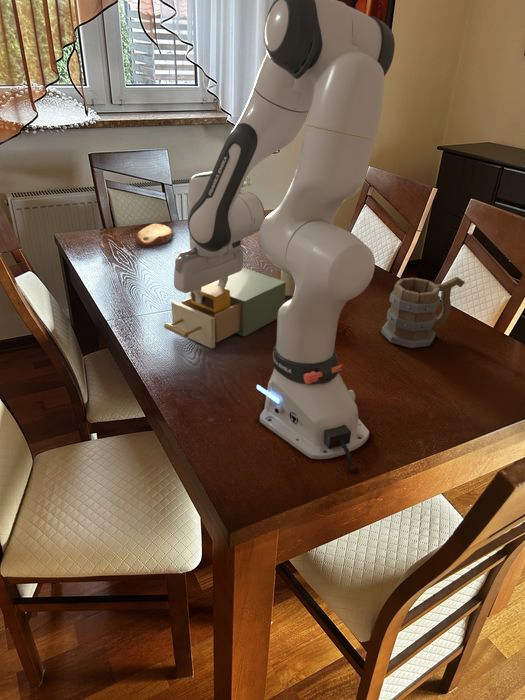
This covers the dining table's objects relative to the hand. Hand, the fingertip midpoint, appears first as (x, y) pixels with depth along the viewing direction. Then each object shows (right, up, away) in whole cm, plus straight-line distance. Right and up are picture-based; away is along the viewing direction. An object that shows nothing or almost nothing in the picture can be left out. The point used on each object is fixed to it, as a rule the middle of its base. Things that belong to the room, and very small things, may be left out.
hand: (210, 297), depth 129 cm
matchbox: (0, -2, +1) cm, 2 cm away
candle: (+21, +4, +29) cm, 36 cm away
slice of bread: (-28, +29, +69) cm, 80 cm away
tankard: (+54, -9, +8) cm, 55 cm away
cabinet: (+8, -4, +14) cm, 16 cm away
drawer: (-1, -8, +3) cm, 9 cm away
